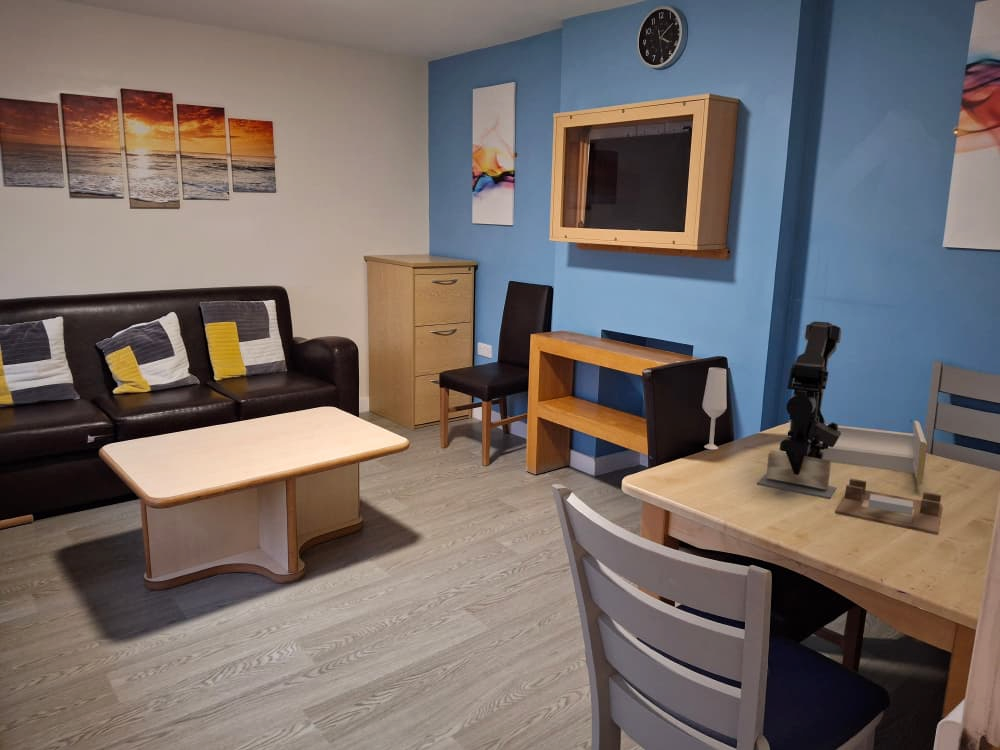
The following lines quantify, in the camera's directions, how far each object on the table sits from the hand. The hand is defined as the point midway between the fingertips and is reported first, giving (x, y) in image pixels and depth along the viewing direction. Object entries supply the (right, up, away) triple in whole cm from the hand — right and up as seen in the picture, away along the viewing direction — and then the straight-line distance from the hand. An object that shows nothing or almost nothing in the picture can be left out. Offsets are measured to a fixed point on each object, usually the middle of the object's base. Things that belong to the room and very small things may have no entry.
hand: (797, 472), depth 179 cm
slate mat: (0, -4, +1) cm, 4 cm away
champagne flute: (-13, +2, +31) cm, 33 cm away
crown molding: (+24, -1, +21) cm, 32 cm away
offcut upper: (+12, -5, -20) cm, 24 cm away
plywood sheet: (0, -2, 0) cm, 2 cm away
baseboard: (+34, -2, +11) cm, 36 cm away
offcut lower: (+12, -7, -19) cm, 23 cm away
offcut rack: (+15, -7, -14) cm, 22 cm away
